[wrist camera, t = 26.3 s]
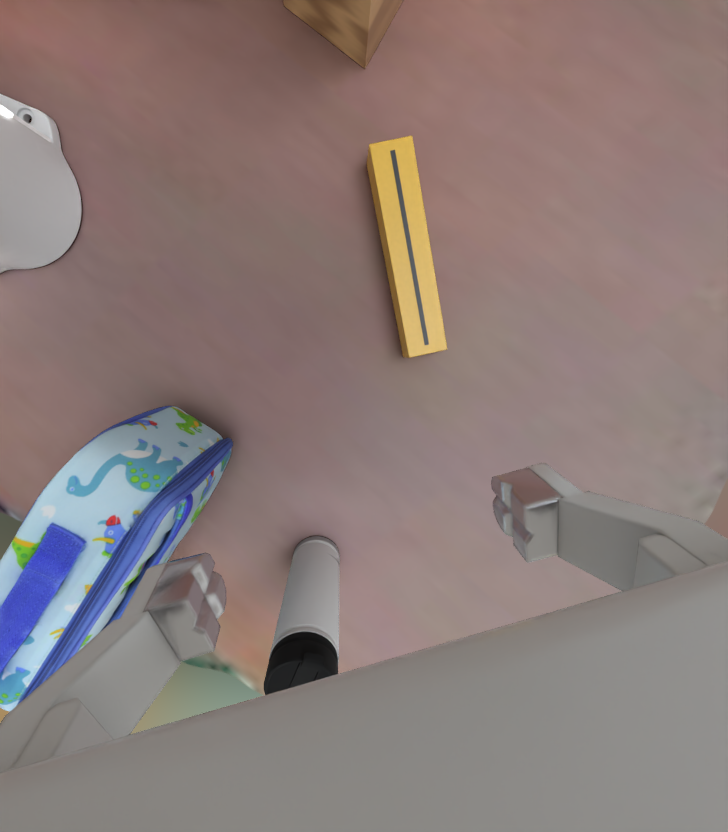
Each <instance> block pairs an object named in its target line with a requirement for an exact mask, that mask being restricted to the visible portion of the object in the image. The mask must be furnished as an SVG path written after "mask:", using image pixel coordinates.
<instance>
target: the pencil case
mask: <svg viewBox="0 0 728 832" xmlns="http://www.w3.org/2000/svg"><path fill="white" fill-rule="evenodd" d="M367 169H368V174H369V180H370V185H371V190H372V195H373V201H374V206H375V211H376V216H377V222H378V227H379V232H380V237H381V243H382V248H383V253H384V258H385V264H386V269H387V274H388V280H389V285H390V290H391V295H392V301H393V306H394V311H395V316H396V322H397V327H398V332H399V337H400V343H401V348H402V353H403V357H407V358H411V357H415V356H420V355H424V354H429V353H434V352H438V351H443V350H447V344H446V338H445V332H444V326H443V320H442V314H441V308H440V302H439V296H438V290H437V284H436V278H435V272H434V265H433V259H432V253H431V247H430V241H429V235H428V229H427V223H426V217H425V211H424V205H423V199H422V193H421V187H420V181H419V175H418V169H417V163H416V157H415V151H414V145H413V139H412V136H407V137H403V138H398V139H393V140H388V141H383V142H378V143H374V144H369V150H368V158H367Z"/></svg>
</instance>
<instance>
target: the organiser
mask: <svg viewBox="0 0 728 832" xmlns="http://www.w3.org/2000/svg"><path fill="white" fill-rule="evenodd" d="M402 2H403V0H283V3H284V6H285V7H286V8H287V9H289V10H290V11H291V12H292V13H294V14H295V15H296V16H298V17H299V18H300V19H301V20H303V21H304V22H305V23H307V24H308V25H309V26H310V27H312V28H313V29H314V30H316V31H317V32H318V33H319V34H321V35H322V36H323V37H325V38H326V39H327V40H328V41H330V42H331V43H332V44H334V45H335V46H336V47H337V48H339V49H340V50H341V51H342V52H344V53H345V54H346V55H348V56H349V57H350V58H351V59H353V60H354V61H355V62H357V63H358V64H359V65H360V66H362V67H363V68H364V69H365V68H366V67H367V65H368V63H369V61H370V59H371V58H372V56H373V54H374V52H375V50H376V49H377V47H378V45H379V43H380V41H381V40H382V38H383V36H384V34H385V32H386V31H387V29H388V27H389V25H390V23H391V22H392V20H393V18H394V16H395V14H396V13H397V11H398V9H399V7H400V5H401V4H402Z"/></svg>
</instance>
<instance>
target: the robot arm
mask: <svg viewBox="0 0 728 832" xmlns="http://www.w3.org/2000/svg"><path fill="white" fill-rule="evenodd" d="M31 118H32V121H31V123H29V120H30V119H31ZM81 214H82V205H81V196H80V192H79V188H78V185H77V182H76V179H75V177H74V175H73V172H72V170H71V169H70V167H69V165H68V163H67V161H66V160H65V158H64V156H63V153H62V151H61V143H60V137H59V132H58V128H57V125H56V123H55V122H54V120H53V119H52V118H51V117H49V116H48V115H46V114H44V113H43V112H41V111H39V110H37V109H35V108H32V107H30V106H28V105H25V104H23V103H21V102H18V101H16V100H14V99H11V98H9V97H7V96H4V95H2V94H0V273H2V272H4V271H6V270H11V269H33V268H38V267H42V266H45V265H47V264H50V263H52V262H53V261H55V260H57V259H58V258H59V257H61V256H62V255H63V254H64V253H65V252H66V251H67V250H68V249H69V247H70V246H71V245H72V243H73V241H74V239H75V238H76V235H77V233H78V230H79V227H80V222H81ZM491 486H492V490H493V491H494V492H495V494H496V497H495V499H494V501H493V509H494V514H495V517H496V520H497V522H498V524H499V526H500V528H501V529H502V530H503V532H504V533H505V534H506V535H509V536H511V537H513V544H514V546H515V548H516V549H517V550H518V551H519V553H520V554H521V555H522V557H523V558H524V559H525V561H526V562H527V563H528V562H532V561H536V560H540V559H544V558H548V557H552V556H556V555H558V557H560V558H562V559H563V560H565V561H567V562H569V563H571V564H573V565H575V566H577V567H578V568H580V569H582V570H584V571H586V572H588V573H590V574H591V575H593V576H595V577H597V578H599V579H601V580H603V581H605V582H606V583H608V584H610V585H612V586H614V587H616V588H618V589H619V590H621V591H622V592H618V593H615V594H611V595H608V596H604V597H601V598H598V599H594V600H591V601H587V602H584V603H580V604H577V605H574V606H570V607H567V608H563V609H560V610H556V611H553V612H550V613H546V614H543V615H539V616H536V617H532V618H529V619H526V620H522V621H519V622H515V623H512V624H508V625H505V626H501V627H498V628H495V629H491V630H488V631H484V632H481V633H477V634H474V635H470V636H467V637H464V638H460V639H457V640H453V641H450V642H446V643H443V644H439V645H436V646H433V647H429V648H426V649H422V650H419V651H415V652H412V653H408V654H405V655H402V656H398V657H395V658H391V659H388V660H384V661H381V662H378V663H374V664H371V665H367V666H364V667H360V668H357V669H354V670H350V671H347V672H343V673H340V674H336V675H333V676H330V677H326V678H323V679H319V680H316V681H312V682H309V683H306V684H302V685H299V686H295V687H292V688H288V689H285V690H282V691H278V692H275V693H271V694H268V695H264V696H261V697H258V698H255V699H251V700H247V701H244V702H240V703H237V704H234V705H230V706H227V707H223V708H220V709H217V710H213V711H209V712H206V713H203V714H200V715H196V716H192V717H189V718H186V719H182V720H179V721H175V722H172V723H168V724H165V725H161V726H158V727H155V728H151V729H148V730H144V731H141V732H138V733H134V734H130V733H131V732H132V731H133V729H134V728H135V726H136V725H137V723H138V722H139V721H140V719H141V718H142V717H143V715H144V714H145V712H146V711H147V709H148V708H149V707H150V705H151V704H152V703H153V701H154V700H155V699H156V697H157V696H158V694H159V693H160V692H161V690H162V688H163V687H164V686H165V684H166V683H167V682H168V680H169V679H170V678H171V676H172V675H173V673H174V672H175V671H176V669H177V668H178V666H179V665H180V661H183V660H187V659H190V658H193V657H196V656H199V655H203V654H206V653H209V652H212V651H214V650H215V646H216V642H217V638H218V634H219V630H220V625H219V623H218V621H217V619H218V618H219V617H220V616H221V614H222V613H223V612H224V610H225V605H226V588H225V584H224V581H223V579H222V576H221V575H220V574H218V573H216V572H214V571H213V568H214V565H215V562H214V560H213V559H212V557H211V555H210V554H208V553H202V554H198V555H194V556H190V557H186V558H182V559H178V560H173V561H170V562H166V563H162V564H158V565H154V566H151V567H150V568H148V569H147V570H146V572H145V574H144V576H143V577H142V579H141V581H140V583H139V585H138V586H137V588H136V590H135V592H134V594H133V596H132V597H131V599H130V601H129V603H128V605H127V606H126V608H125V610H124V612H123V614H122V616H121V617H120V619H117V620H113V621H112V622H111V623H110V624H109V625H108V626H107V627H106V628H104V629H103V630H102V631H101V632H100V633H99V634H98V635H96V636H95V637H94V638H93V639H92V640H91V641H90V642H89V643H87V644H86V645H85V646H84V647H83V648H82V649H81V650H79V651H78V652H77V653H76V654H75V655H74V656H73V657H72V658H70V659H69V660H68V661H67V662H66V663H65V664H64V665H62V666H61V667H60V668H59V669H58V670H57V671H56V672H55V673H53V674H52V675H51V676H50V677H49V678H48V679H47V680H45V681H44V682H43V683H42V684H41V685H40V686H39V687H38V688H36V689H35V690H34V691H33V692H32V693H31V694H30V695H28V696H27V697H26V698H25V699H24V700H23V701H22V702H21V703H19V704H18V705H17V706H16V707H15V708H14V709H13V710H11V711H10V712H9V713H8V714H7V715H6V716H5V717H4V719H3V720H2V721H1V723H0V832H728V539H726V538H725V537H723V536H722V535H720V534H718V533H717V532H715V531H714V530H712V529H711V528H709V527H707V526H706V525H704V524H703V523H701V522H699V521H697V520H693V519H690V518H686V517H682V516H679V515H675V514H671V513H668V512H664V511H660V510H656V509H653V508H649V507H645V506H642V505H638V504H634V503H630V502H627V501H623V500H619V499H616V498H612V497H608V496H604V495H601V494H597V493H593V492H590V491H587V492H584V493H583V492H582V491H581V490H579V489H578V488H577V487H575V486H574V485H573V484H572V483H570V482H569V481H568V480H567V479H565V478H564V477H563V476H561V475H560V474H559V473H558V472H556V471H555V470H554V469H552V468H551V467H550V466H549V465H547V464H546V463H539V464H535V465H532V466H528V467H526V468H524V469H520V470H516V471H513V472H509V473H505V474H502V475H498V476H494V477H492V481H491Z"/></svg>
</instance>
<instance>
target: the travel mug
mask: <svg viewBox="0 0 728 832" xmlns="http://www.w3.org/2000/svg"><path fill="white" fill-rule="evenodd" d="M339 562H340V556H339V551H338V548H337V547H336V545H335V544H334V543H333V542H332V541H331V540H329V539H327V538H325V537H321V536H313V537H309V538H306V539H304V540H302V541H301V542H300V543H299V544H298V545H297V547H296V548H295V550H294V554H293V558H292V563H291V567H290V571H289V575H288V580H287V584H286V588H285V592H284V597H283V601H282V605H281V610H280V614H279V618H278V622H277V627H276V631H275V635H274V640H273V644H272V648H271V653H270V657H269V664H268V668H267V672H266V677H265V681H264V691H265V695H268V694H271V693H275V692H278V691H282V690H285V689H288V688H292V687H295V686H299V685H302V684H306V683H309V682H312V681H316V680H319V679H323V678H326V677H330V676H333V675H336V674H338V660H339V565H340V563H339Z"/></svg>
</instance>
